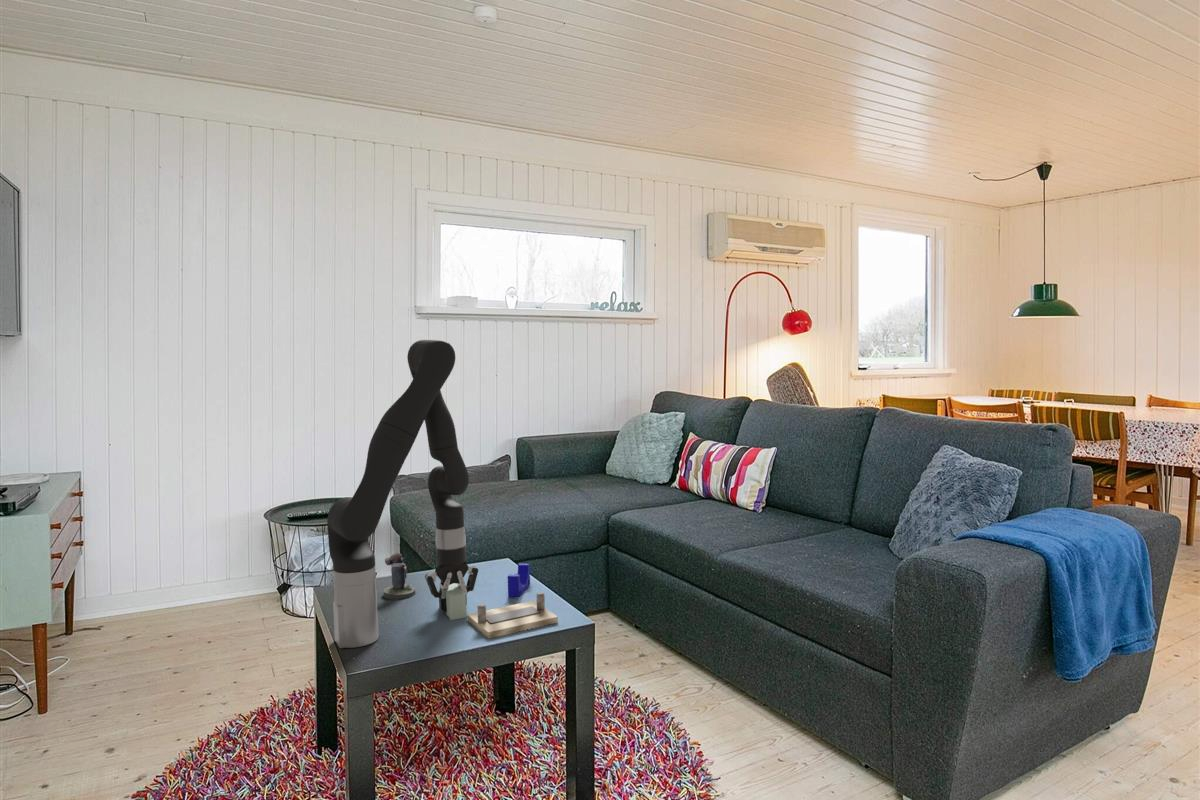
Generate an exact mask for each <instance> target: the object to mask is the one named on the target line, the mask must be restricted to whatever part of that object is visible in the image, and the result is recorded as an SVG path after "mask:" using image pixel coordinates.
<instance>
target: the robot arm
mask: <svg viewBox="0 0 1200 800" xmlns="http://www.w3.org/2000/svg"><path fill="white" fill-rule="evenodd" d="M455 363H456V351H455V349H454V347H453V346H452V344H451V343H449V342H447V341H445V340H441V339H420V340H417V341H415V342H413V343H412V344H411V345H410V347H409V349H408V351H407V365H408V367H409V371H410V374H411V377H412V379H411V380H412V381H411V383H410V384H409V385H408V388H407V389H406V390H405V391H404V393H402V395H400V397H399V398H398V399H397V400H396V401H395V402H393V403H392V405H391V406H390V407H389V408H388V409H387V410H386V412H385V413H383V416H382V417H381V419H380V421H379V422H378V424H377V427H376V429H375V431H374V433H373V435H372V437H371V439H370V441H369V447H368V448H367V449H368V450H367V457H366V463H365V469H364V473H363V476H362V478H361V480H360V483H359V485H358V487H357V489H356V490H355V492H354V494H353V495H352V496H348V497H346V496H345V497H342V498H340V499H338V500H336V501H335V502H334V503H333V504H332V505H331V507H330V508H329V511H328V513H327V514H328V515H327V520H326V521H327V523H326V525H327V538H328V539H327V540H328V548H329V549H328V551H329V556H330V559H331V563H332V570H333V587H334V589H333V591H334V592H333V593H334V599H333V601H332V606H333V607H332V608H333V610H332V611H333V630H334V631H333V632H334V641H335V643H336V645H337V646H338V648H339V649H345V648H348V649H349V648H351V649H352V648H353V649H354V648H361V647H364V646H365V647H366V646H369V645H371V644H373V643H375V642H376V641H377V640H378V639H379V618H378V598H377V576H376V575H377V573H376V555H375V553H374V551H373V549H372V548H371V544H370V542H369V537H371V536H372V535H373V534H374V532H375V531H376V529H377V527H378V525H379V522H380V520H381V517H382V515H383V512H384V508H385V507H386V506H385V505H386V503H387V500H388V498H389V495H390V492H391V491H392V487H393V486H394V483H395V482H396V480H397V478H398V476H399V474H400V472H401V469H402V468H403V465H404V463H405V461H406V459H407V457H408V455H409V453H410V452H411V450H412V447H413V445H414V443H415V442H416V439H417V436H418V434H419V432H420V429H421V428H422V426H423V423H425V424H424V425H425V429H426V435H427V441H428V448H429V454H430V456H431V458H432V459H434V460H435V461H437V462H440V463H441V465H440V466H439V465H437V466H435V467H433V468H432V469H431V470H430V472H429V474H428V478H427V488H428V493H429V495H430V500H431V502H432V505H433V508H434V512H435V530H436V531H435V542H434V543H435V554H436V556H435V558H436V562H435V563H436V566H435V569H434V571H433V572H432V573H425V575H424V579H425V581H426V583H427V584H426V585H428V588H429V591H430V594H431V596H433V597H434V598H435V599H436V598H438V603H439V610H440V611H441V612H442V613H443V614H444V613H445V614H446V612H447V607H446V598H445V597H446V592H447V590H448V588H449V585H451V584H453V583H456V584H457V585H458V587H460V588H461V589H462V590H463V591H464V592H465V594H466V606H467V605H468V601H467V600H468V599H467V594H468V593H469V592H473V591H474V589H475V585H476V581H477V578H478V574H479V568H478V567H476V566H475V565H472V566H470V565H468V564H467V563H468V562H467V542H466V537H467V536H466V531H465V516H464V515H465V513H464V506H463V505H462V504H461V503H458V502H456V501H455V500H454V499H453V496H461V495H463V494H464V493H465V492H466V491H467V489H468V487H469V484H470V477H469V472H468V468H467V466H466V463H465V461H464V459H463V457H462V455H461V452H460V450H459V446H458V439H457V433H456V428H455V423H454V420H453V417H452V414H451V412H450V410H449V408H448V406H447V404H446V402H445V399H444V397H443V394H442V391H441V389H442V388H443V387H444V385H445V383H446V381H447V380H448V378H449V377H450V375H451V373H452V371H453V369H454V366H455ZM466 574H468V578H467V582H465V579H464V577H465V576H466ZM436 578H438V579H439V580H440V581H439V589H437V587H436V584H435V582H436V581H437V579H436Z"/></svg>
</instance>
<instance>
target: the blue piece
mask: <svg viewBox="0 0 1200 800" xmlns="http://www.w3.org/2000/svg"><path fill="white" fill-rule="evenodd" d="M530 567H531V566H530V563H521V562H520V563H518V565H517V573H514V574H512V573H511V574H508V575H507V598H514V597H519V596H520V595H521V596H522V594H524V592H525V591H526V590H527V588H528V587H529V586H530V585H531V571H530V570H531V568H530ZM529 584H530V585H529ZM528 585H529V586H528ZM525 589H526V590H525ZM524 590H525V591H524ZM521 596H520V597H521ZM520 597H519V598H520Z"/></svg>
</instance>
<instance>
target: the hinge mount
mask: <svg viewBox="0 0 1200 800" xmlns="http://www.w3.org/2000/svg"><path fill="white" fill-rule="evenodd" d="M535 594H536V595H535V596H536V601H535V600H530V601H525V602H521V603H516V604H511V605H506V606H502V607H496V608H492V609H487V605H486V604H483V603H481V604H478V605H477V606H476V607H477V612H472V613H468V614H467V613H466V615H467V622H469V623H470V624H471V625H472V626H473V627H475V628H476V629H477V631H479V632H480V633H481V634H482V635H484V637H486V638H487V639H492V638H498V637H502V636H506V635H511V634H515V633H519V631H520V632H524V631H528V630H532V629H531V628H533V629H535V628H534V627H537V628H540V627H539V626H541V627H545V626H544V625H546V626H549V625H548V624H550V625H553V624H554V623H555V624H558V623H559V617H558V616H557V615H556V614H554V613H553V612H552V611H550V610H548V609H547V608H546V606H545V604H546V603H545V601H546V600H545V598H546V597H545V596H546V595H545V592H537V593H535ZM527 629H528V630H527ZM523 630H524V631H523Z"/></svg>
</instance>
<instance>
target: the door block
mask: <svg viewBox="0 0 1200 800" xmlns="http://www.w3.org/2000/svg"><path fill="white" fill-rule="evenodd" d="M466 596H467V595H466V594H465V592H464V591H463V590H462V589H461V588H460V587H458V585H457V584H456V583H453V584H451V585H449V588H448V590H447V592H446V597H445V598H446V607H447V612H446V613H445V615H446V617H448V618H449V620H450V621H453V620H458V619H459V620H460V619H464V618H468V616H467V605H466Z"/></svg>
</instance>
